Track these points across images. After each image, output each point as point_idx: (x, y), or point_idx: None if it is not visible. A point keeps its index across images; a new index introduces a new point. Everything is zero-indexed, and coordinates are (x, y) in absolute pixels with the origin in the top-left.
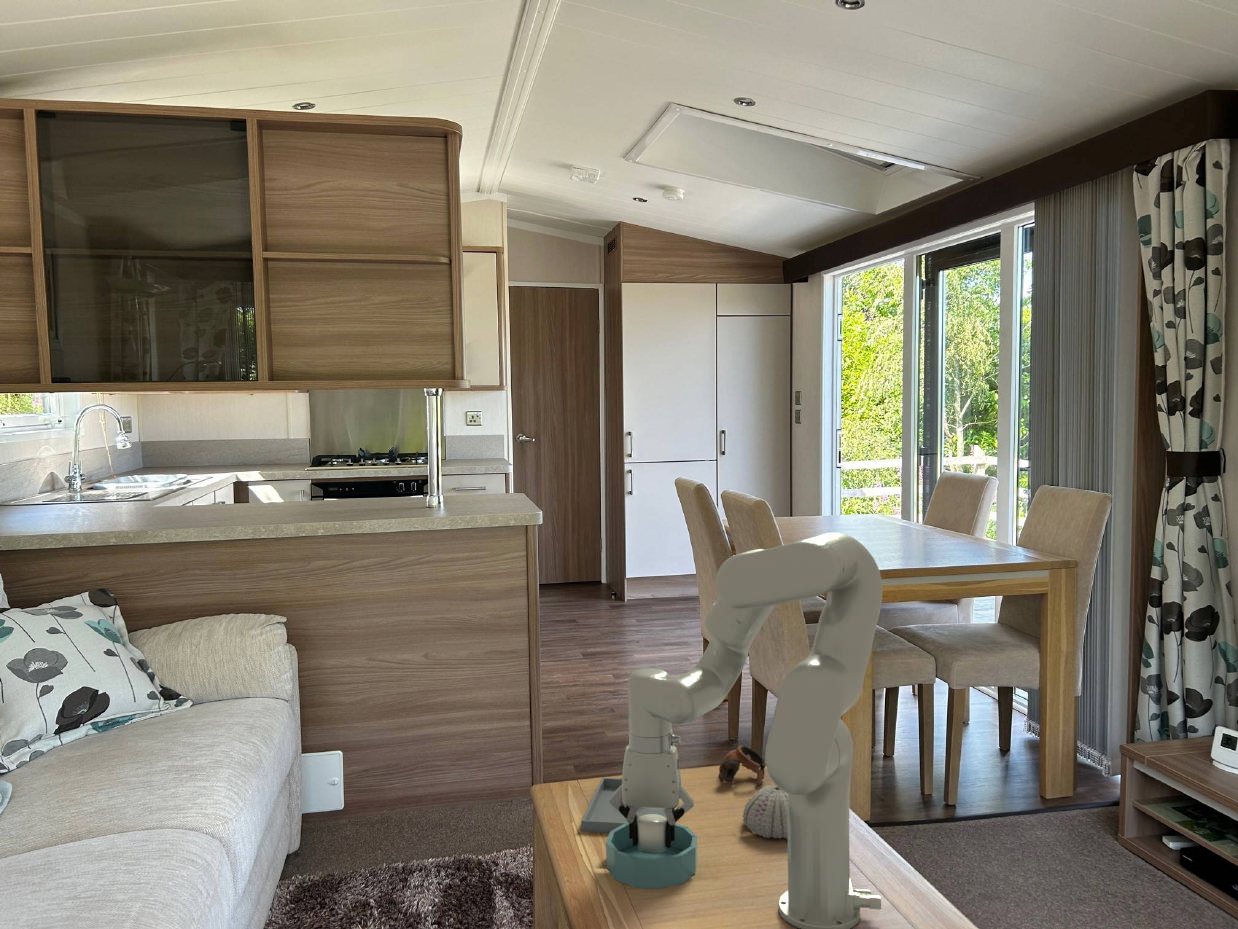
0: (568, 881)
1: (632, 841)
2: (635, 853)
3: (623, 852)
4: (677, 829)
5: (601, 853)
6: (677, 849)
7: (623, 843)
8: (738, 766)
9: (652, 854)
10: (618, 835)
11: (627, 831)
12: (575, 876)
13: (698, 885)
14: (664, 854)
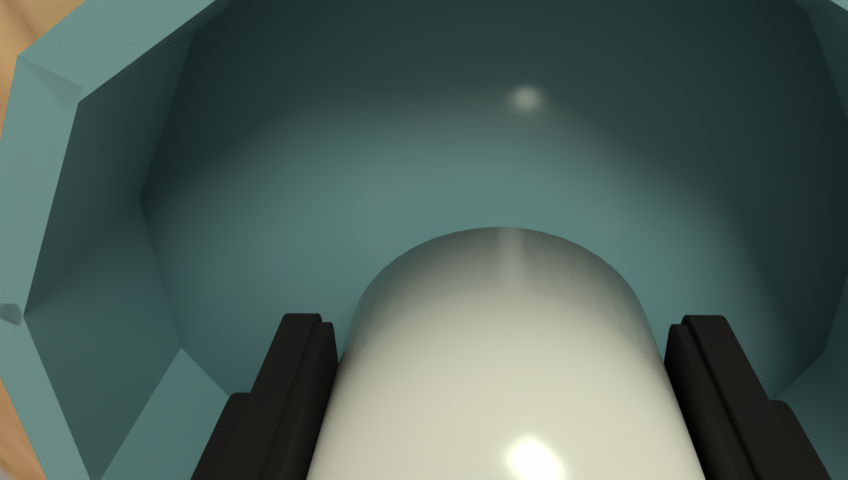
0: (13, 474)
1: (219, 11)
2: (312, 160)
3: (199, 160)
4: (836, 10)
5: (3, 100)
6: (733, 15)
7: (151, 111)
8: None
9: (473, 157)
10: (72, 226)
11: (120, 78)
12: (18, 426)
13: None
14: (591, 143)
